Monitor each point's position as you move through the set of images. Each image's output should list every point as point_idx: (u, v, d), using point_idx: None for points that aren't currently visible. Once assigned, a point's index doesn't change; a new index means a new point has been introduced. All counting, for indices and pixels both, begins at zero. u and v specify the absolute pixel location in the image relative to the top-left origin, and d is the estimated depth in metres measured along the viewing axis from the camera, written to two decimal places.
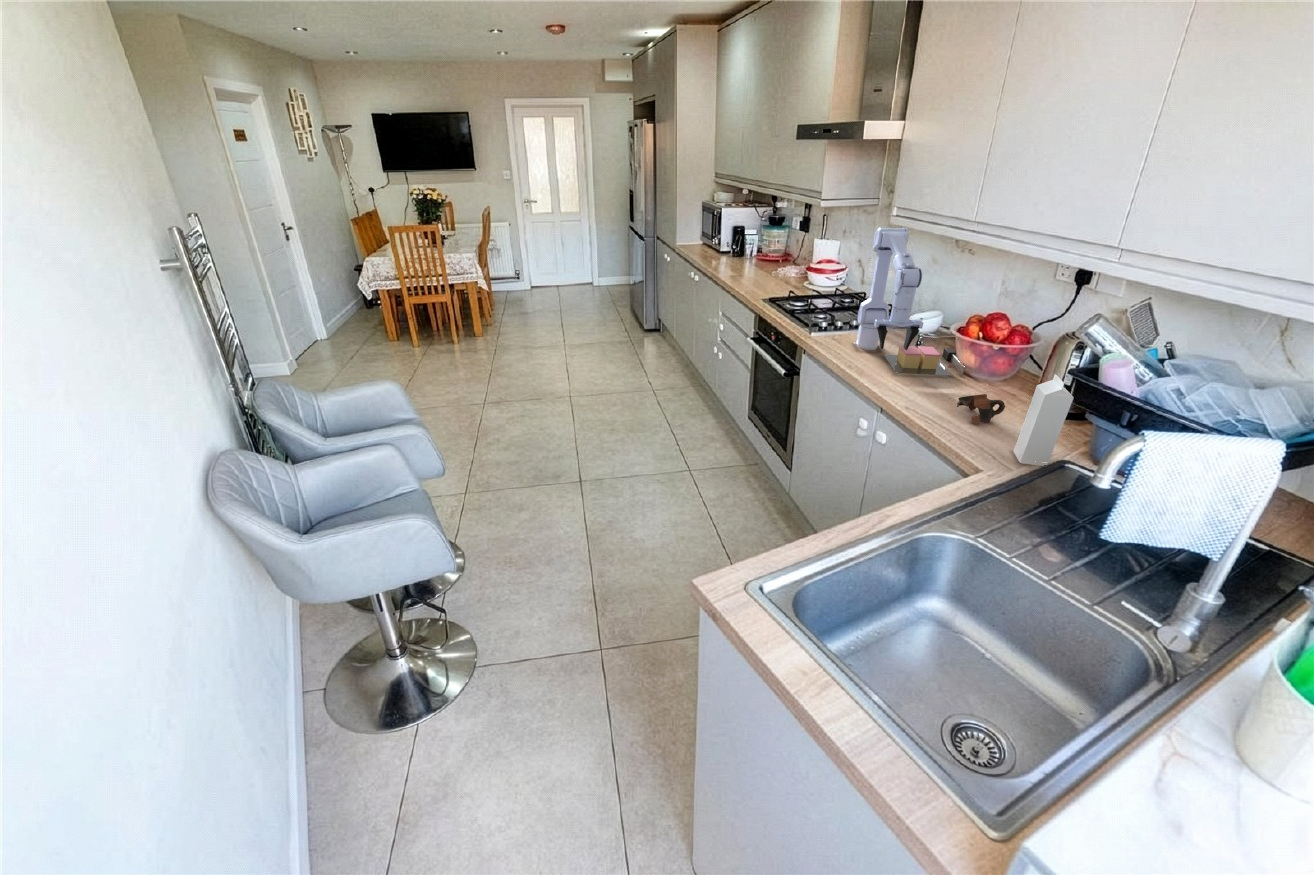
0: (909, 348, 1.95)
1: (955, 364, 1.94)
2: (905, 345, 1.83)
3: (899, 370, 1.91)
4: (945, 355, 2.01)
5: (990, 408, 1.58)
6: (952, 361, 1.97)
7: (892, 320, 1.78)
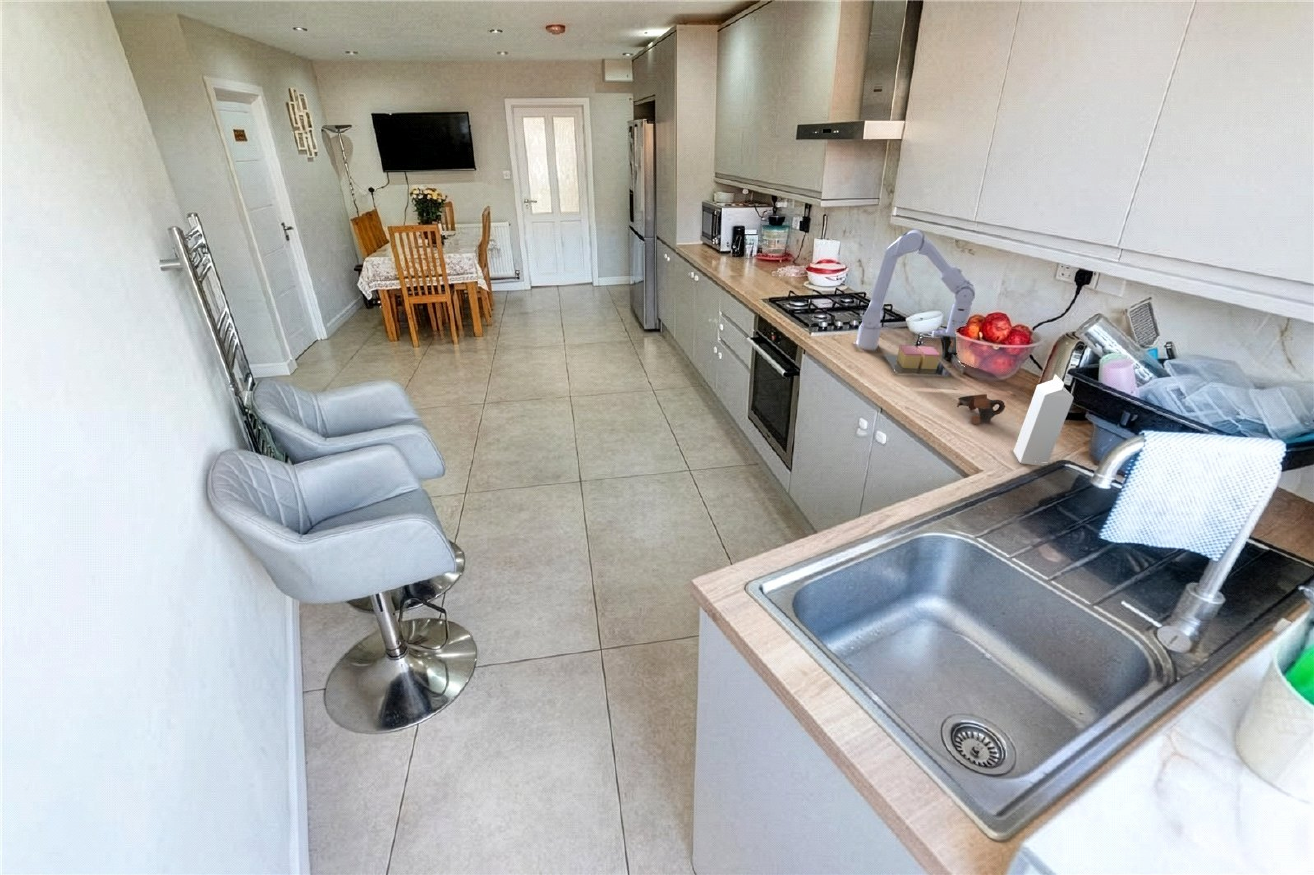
0: (909, 348, 1.95)
1: (955, 364, 1.94)
2: None
3: (899, 370, 1.91)
4: None
5: (990, 408, 1.58)
6: (952, 361, 1.97)
7: (949, 331, 1.95)
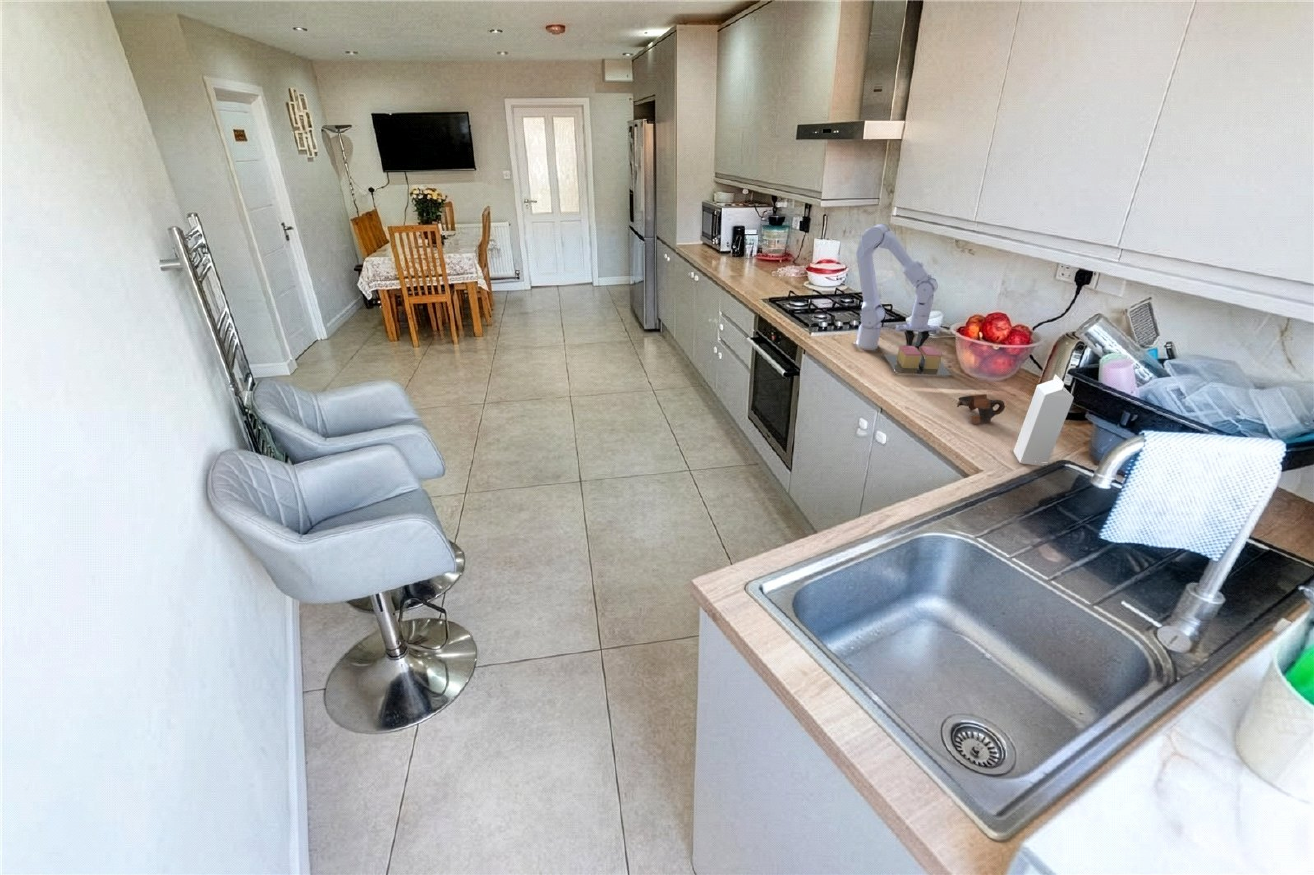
0: (909, 348, 1.95)
1: None
2: None
3: (899, 370, 1.91)
4: None
5: (990, 408, 1.58)
6: None
7: (912, 325, 1.98)
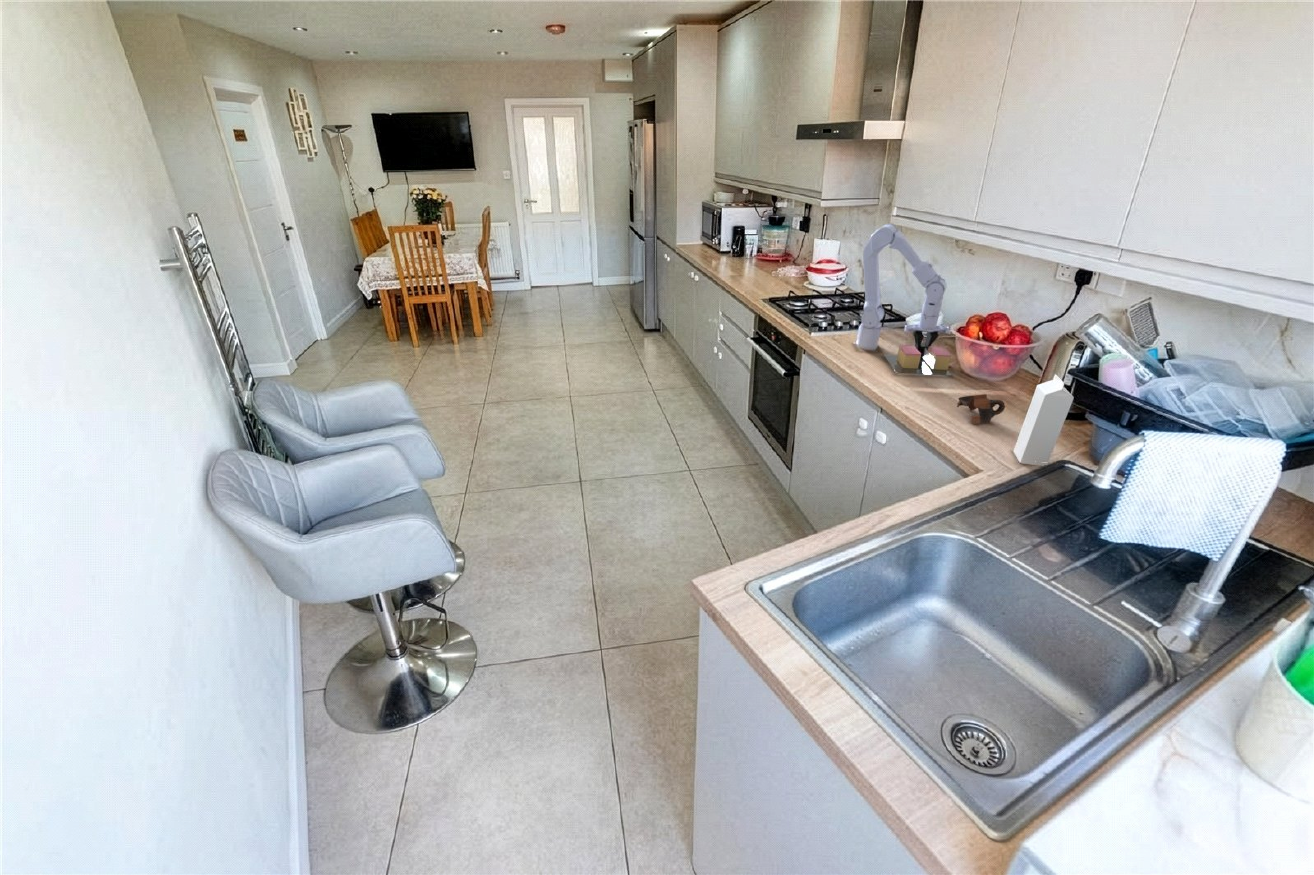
0: (909, 348, 1.95)
1: (927, 358, 1.96)
2: None
3: (899, 370, 1.91)
4: None
5: (990, 408, 1.58)
6: (924, 355, 1.99)
7: (921, 326, 1.97)
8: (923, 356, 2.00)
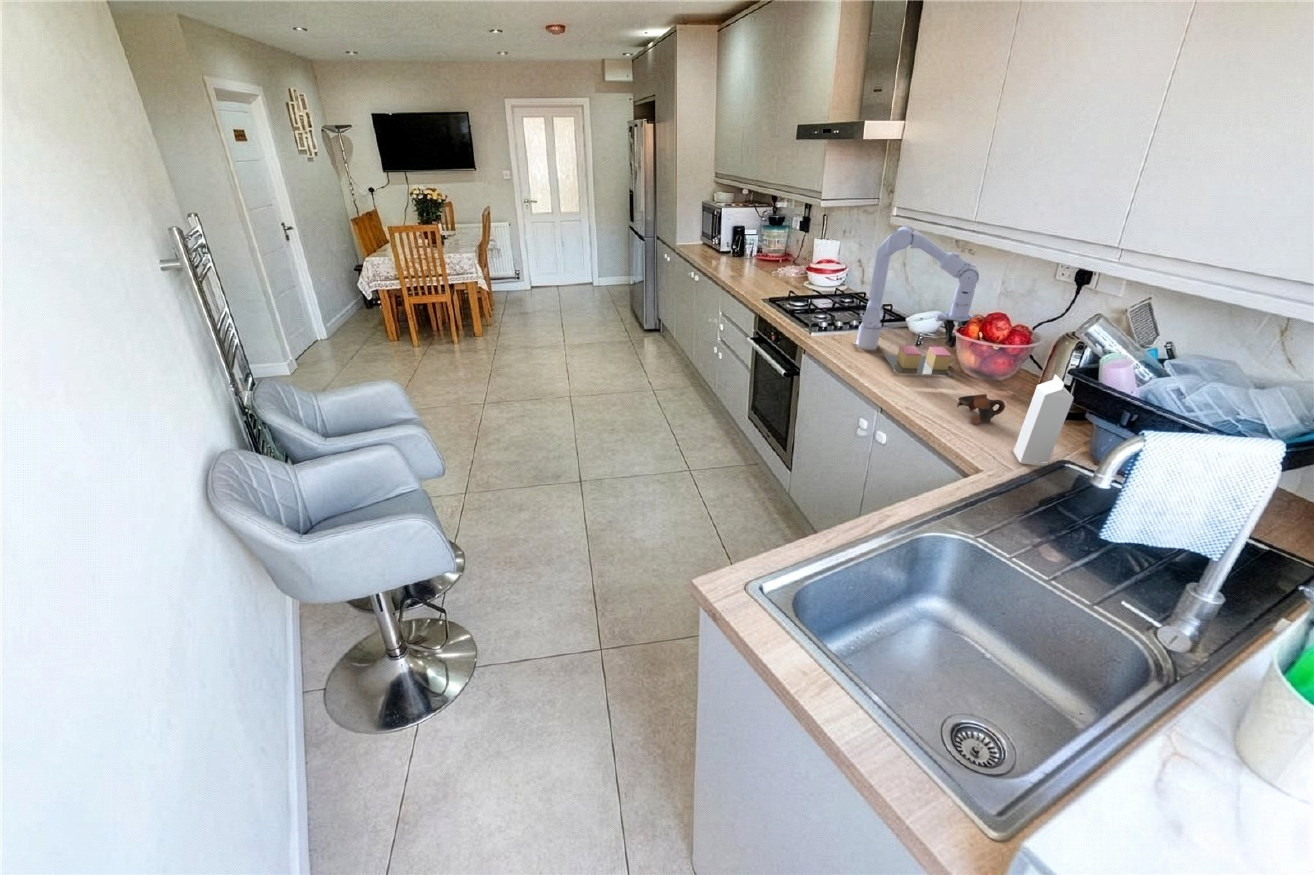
0: (909, 348, 1.95)
1: None
2: None
3: (899, 370, 1.91)
4: None
5: (990, 408, 1.58)
6: None
7: (952, 315, 1.93)
8: (954, 346, 1.95)
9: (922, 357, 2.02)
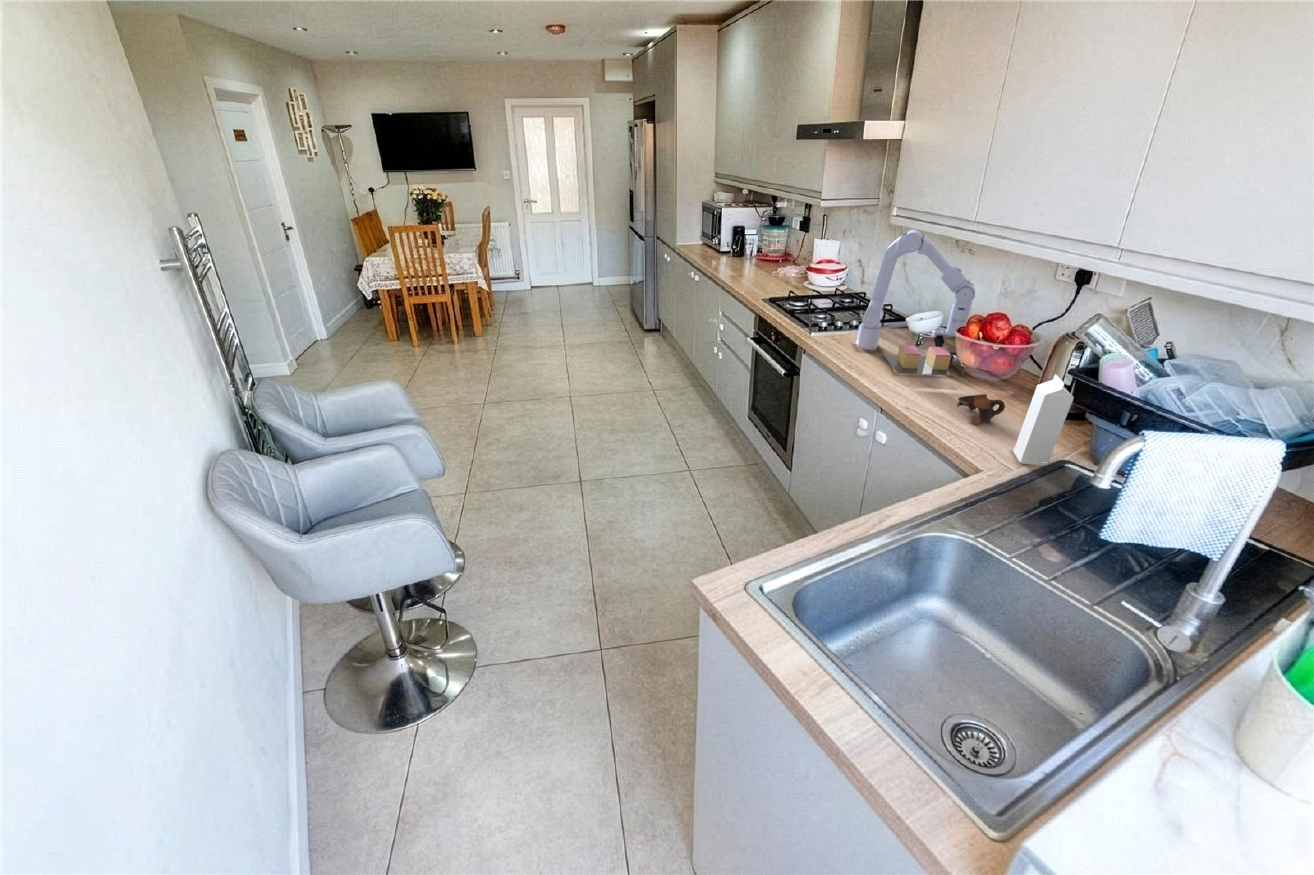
0: (909, 348, 1.95)
1: (955, 364, 1.94)
2: None
3: (899, 370, 1.91)
4: None
5: (990, 408, 1.58)
6: (952, 361, 1.97)
7: (949, 331, 1.95)
8: (951, 362, 1.98)
9: (922, 357, 2.02)
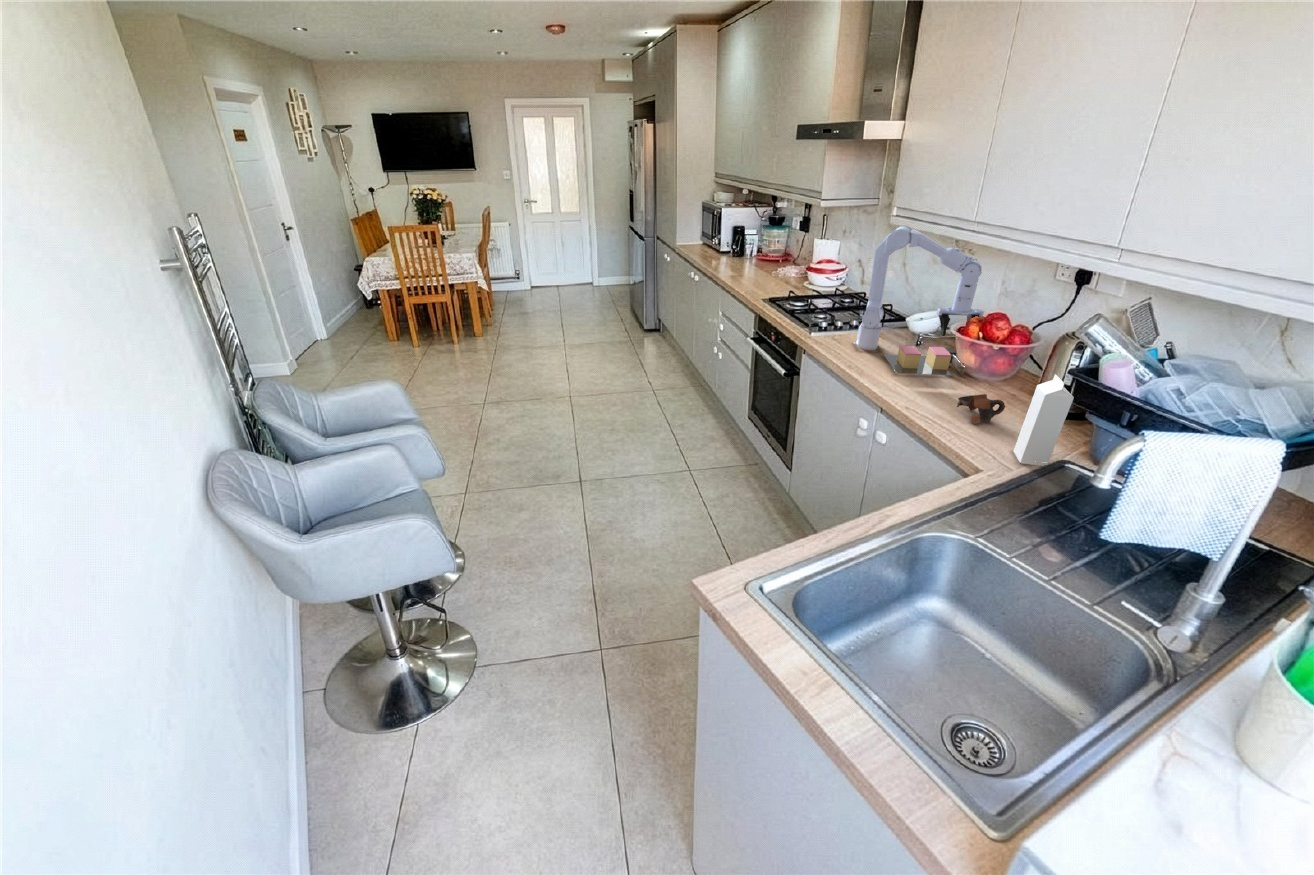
0: (909, 348, 1.95)
1: (955, 364, 1.94)
2: None
3: (899, 370, 1.91)
4: None
5: (990, 408, 1.58)
6: (952, 361, 1.97)
7: (955, 309, 1.91)
8: (951, 362, 1.98)
9: (922, 357, 2.02)
